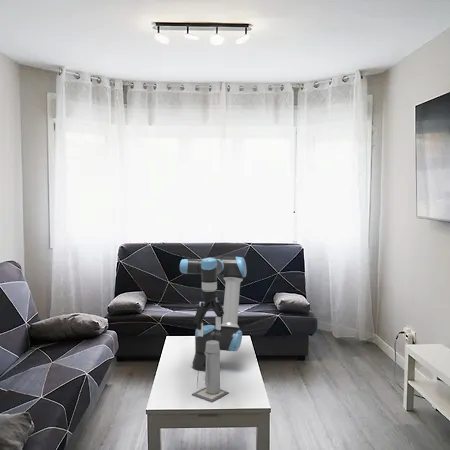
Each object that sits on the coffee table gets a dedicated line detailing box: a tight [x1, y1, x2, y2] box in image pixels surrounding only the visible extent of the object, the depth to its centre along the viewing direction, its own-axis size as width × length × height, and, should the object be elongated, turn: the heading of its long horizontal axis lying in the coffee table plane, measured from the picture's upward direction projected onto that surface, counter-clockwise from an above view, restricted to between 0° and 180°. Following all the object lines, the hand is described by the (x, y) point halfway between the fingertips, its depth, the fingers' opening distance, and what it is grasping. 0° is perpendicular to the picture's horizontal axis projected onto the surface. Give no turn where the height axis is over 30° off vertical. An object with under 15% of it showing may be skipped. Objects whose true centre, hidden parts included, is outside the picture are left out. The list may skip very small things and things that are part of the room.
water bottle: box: [204, 340, 221, 394], centre depth 224 cm, size 9×8×25 cm
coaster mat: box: [191, 386, 230, 403], centre depth 224 cm, size 13×13×1 cm
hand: (209, 332), depth 223 cm, fingers open, 13 cm apart
